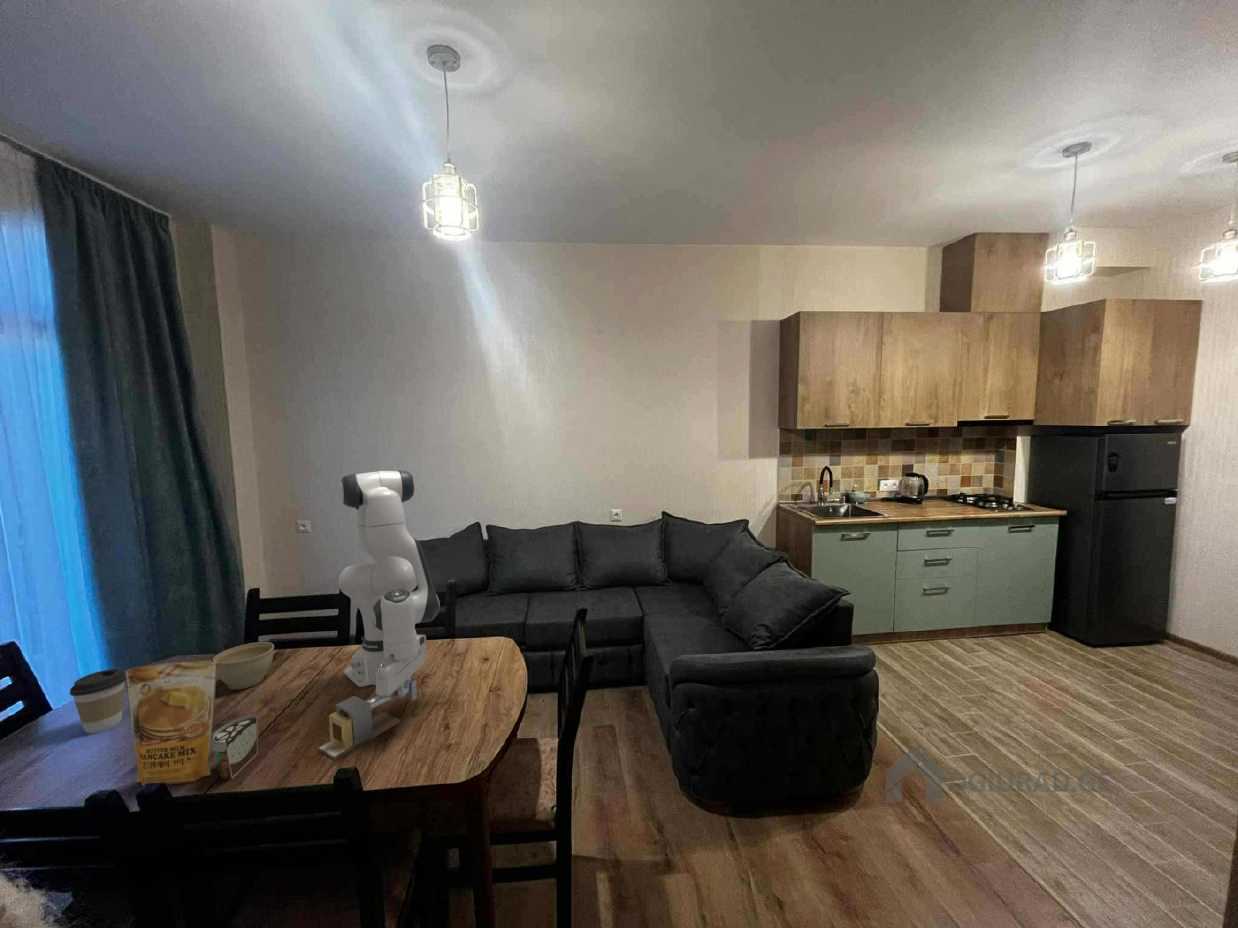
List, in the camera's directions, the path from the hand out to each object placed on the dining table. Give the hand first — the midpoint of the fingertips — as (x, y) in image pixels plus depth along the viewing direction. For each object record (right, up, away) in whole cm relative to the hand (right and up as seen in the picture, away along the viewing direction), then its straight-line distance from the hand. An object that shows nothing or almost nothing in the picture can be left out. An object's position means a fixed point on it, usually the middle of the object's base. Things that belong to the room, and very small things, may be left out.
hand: (403, 694), depth 137 cm
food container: (-35, -10, -18) cm, 40 cm away
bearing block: (-9, -8, -9) cm, 15 cm away
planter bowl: (-64, -8, +24) cm, 69 cm away
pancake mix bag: (-46, -10, -21) cm, 52 cm away
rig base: (-8, -8, -7) cm, 14 cm away
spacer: (-11, -4, -12) cm, 17 cm away
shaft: (-5, -3, -2) cm, 7 cm away
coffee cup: (-88, -10, +1) cm, 89 cm away
